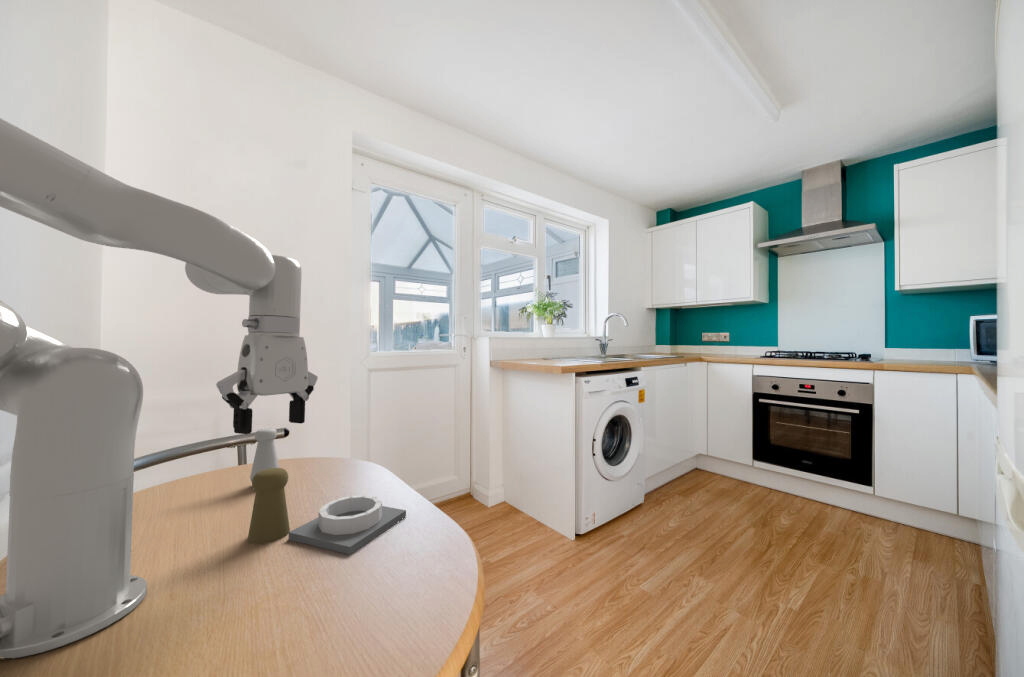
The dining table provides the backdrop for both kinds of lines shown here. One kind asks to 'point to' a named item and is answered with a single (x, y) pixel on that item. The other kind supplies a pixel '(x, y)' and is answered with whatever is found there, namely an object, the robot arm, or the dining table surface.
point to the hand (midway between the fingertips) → (271, 427)
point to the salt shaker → (265, 451)
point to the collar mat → (348, 539)
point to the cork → (269, 507)
